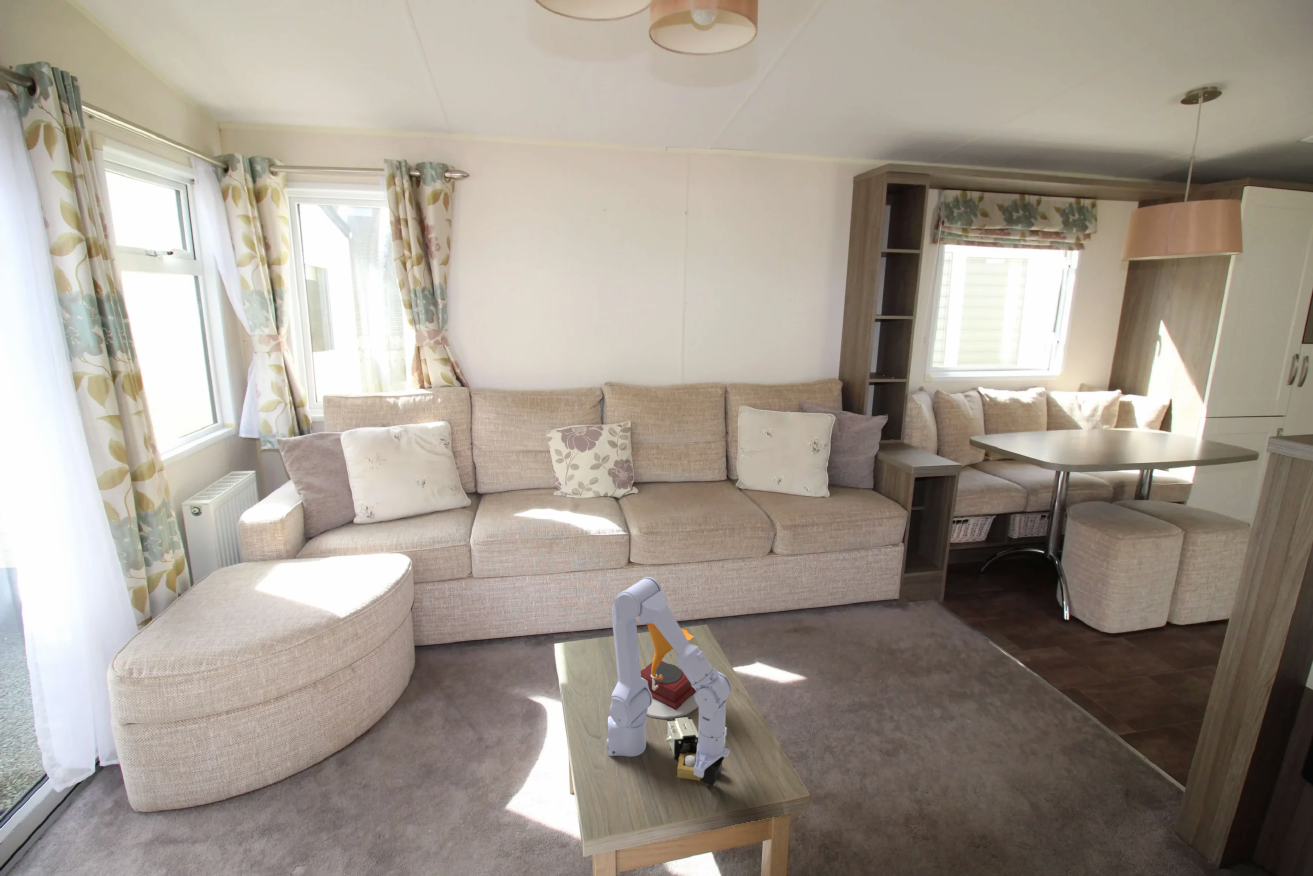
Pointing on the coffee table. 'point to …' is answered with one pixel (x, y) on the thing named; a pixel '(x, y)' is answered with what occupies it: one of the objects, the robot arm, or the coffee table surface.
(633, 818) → the coffee table surface
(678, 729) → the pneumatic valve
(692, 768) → the square nut with handle
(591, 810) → the coffee table surface
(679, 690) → the gramophone
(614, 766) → the coffee table surface
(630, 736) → the robot arm
